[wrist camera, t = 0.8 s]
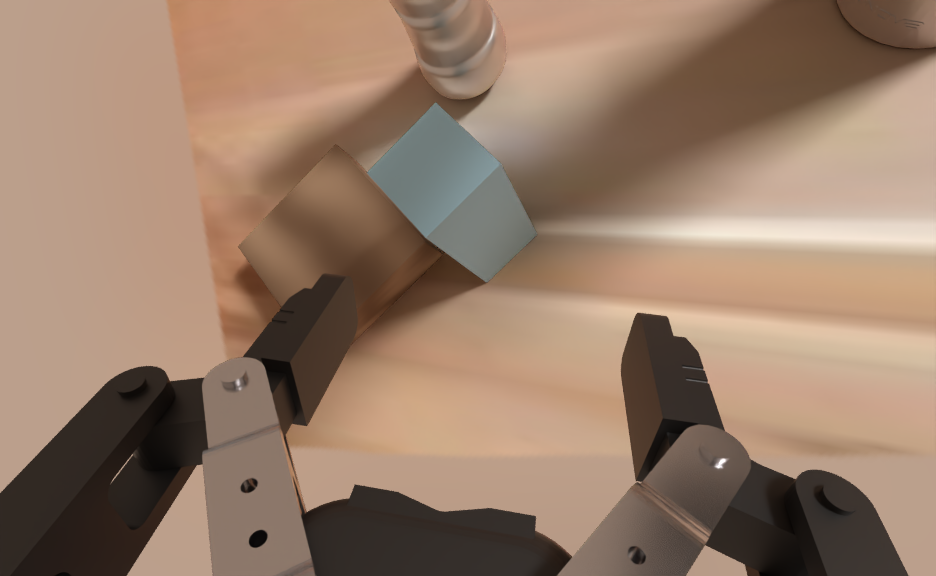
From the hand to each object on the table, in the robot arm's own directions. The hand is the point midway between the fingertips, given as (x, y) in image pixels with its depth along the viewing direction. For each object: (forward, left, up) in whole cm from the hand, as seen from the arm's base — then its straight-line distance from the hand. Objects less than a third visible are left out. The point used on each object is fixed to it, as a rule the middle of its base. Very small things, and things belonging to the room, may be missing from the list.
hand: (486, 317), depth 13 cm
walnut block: (+7, -16, -20) cm, 27 cm away
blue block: (-2, -9, -19) cm, 22 cm away
